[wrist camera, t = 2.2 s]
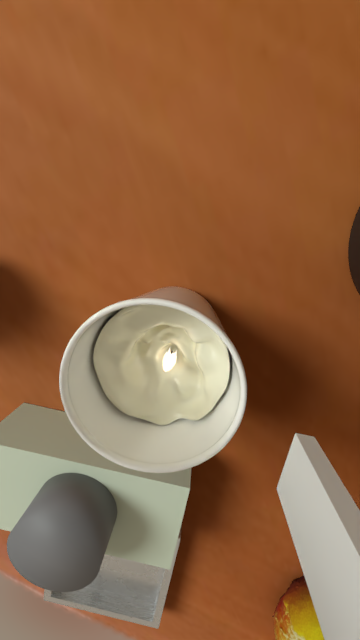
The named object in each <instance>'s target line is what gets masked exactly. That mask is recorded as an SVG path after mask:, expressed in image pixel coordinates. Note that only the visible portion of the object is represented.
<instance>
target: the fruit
mask: <svg viewBox="0 0 360 640" xmlns="http://www.w3.org/2000/svg"><path fill="white" fill-rule="evenodd" d="M272 617H274V632H275V639H276V640H324V637H323V633H322V630H321V627H320V624H319V621H318V618H317V614H316V611H315V608H314V605H313V602H312V599H311V596H310V592H309V589H308V586H307V583H306V580H305V577H304V576H302V577H301V578H298V579H296V580H294V581H292V584H291V585H290V587H289V588H288V590H287V592H286V594H284V595H283V596H282V597H281V598H280V601H279V603H278V605H277V607H276V610H275V612H274V615H273V616H272Z"/></svg>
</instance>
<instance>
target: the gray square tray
mask: <svg viewBox="0 0 360 640" xmlns="http://www.w3.org/2000/svg"><path fill="white" fill-rule="evenodd" d="M181 530H182V524H181V528H180V532H179V536H178V540H177V544H176V548H175V552H174V556H173V560H172V565H171V569H170V570H169V569H165V568H161V567H157V566H152V565H148V564H144V563H140V562H136V561H132V560H127V559H123V558H119V557H115V556H111V555H107V554H105V555H104V558H103V561H102V564H101V567H100V570H99V573H98V575H97V577H96V578H95V580H94V581H93V582H92V583H91V584H89V585H88V586H86V587H84V588H83V589H80V590H77V591H72V592H55V591H50V590H47V589H45V591H44V600H45V601H49V602H53V603H57V604H61V605H65V606H69V607H73V608H77V609H81V610H85V611H89V612H93V613H97V614H101V615H105V616H109V617H113V618H117V619H121V620H125V621H129V622H133V623H137V624H141V625H145V626H149V627H154V628H159V624H160V620H161V616H162V612H163V608H164V604H165V600H166V596H167V592H168V588H169V584H170V579H171V575H172V571H173V567H174V563H175V559H176V555H177V551H178V547H179V543H180V539H181Z"/></svg>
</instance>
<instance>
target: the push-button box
mask: <svg viewBox="0 0 360 640" xmlns="http://www.w3.org/2000/svg"><path fill="white" fill-rule="evenodd" d="M190 482H191V468H189V469H185V470H182V471H177V472H170V473H149V472H141V471H137V470H132V469H129V468H126V467H123V466H121V465H118V464H116V463H114V462H112V461H110V460H108V459H106V458H105V457H103V456H102V455H100V454H99V453H97V452H96V451H95V450H94V449H92V448H91V447H90V446H89V445H88V444H87V443H86V442H85V441H84V440H83V439H82V438H81V437H80V435H79V434H78V433H77V431H76V430H75V429H74V427H73V426H72V424H71V422H70V420H69V418H68V416H67V414H66V412H63V411H59V410H54V409H50V408H45V407H41V406H36V405H32V404H27V403H23V404H22V405H20V406H19V407H18V408H17V409H16V410H14V411H13V412H12V413H11V414H10V415H8V416H7V417H6V418H5V419H4V420H2V421H1V422H0V529H3V530H7V531H11V533H10V535H9V537H8V541H7V551H8V555H9V558H10V561H11V563H12V564H13V566H14V567H15V569H16V570H17V571H18V572H19V573H20V574H21V575H22V576H23V577H24V578H25V579H27V580H28V581H30V582H31V583H33V584H35V585H37V586H39V587H41V588H44V589H47V590H50V591H55V592H72V591H77V590H80V589H83V588H84V587H86V586H88V585H89V584H91V583H92V582H93V581H94V580H95V578H96V577H97V575H98V573H99V570H100V567H101V564H102V561H103V558H104V555H105V554H107V555H111V556H115V557H119V558H123V559H127V560H132V561H136V562H140V563H144V564H148V565H152V566H157V567H161V568H165V569H169V570H170V569H171V565H172V560H173V556H174V552H175V548H176V544H177V540H178V536H179V532H180V528H181V524H182V520H183V516H184V511H185V507H186V503H187V499H188V495H189V491H190Z"/></svg>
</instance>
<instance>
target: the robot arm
mask: <svg viewBox="0 0 360 640" xmlns="http://www.w3.org/2000/svg"><path fill="white" fill-rule="evenodd" d="M348 252H349V266H350V272H351V276H352V279H353V282H354V284H355V287H356V289H357V291H358V293H359V294H360V207H359V210H358V212H357V214H356V217H355V219H354V222H353V226H352V229H351V234H350V240H349V251H348ZM277 491H278V495H279V498H280V501H281V504H282V507H283V510H284V514H285V517H286V520H287V523H288V526H289V529H290V532H291V536H292V539H293V542H294V545H295V548H296V551H297V555H298V558H299V561H300V564H301V567H302V570H303V573H304V577H305V580H306V583H307V586H308V589H309V592H310V596H311V599H312V602H313V605H314V608H315V611H316V614H317V618H318V621H319V624H320V627H321V630H322V633H323V637H324V640H360V510H359V509H358V507H357V506H356V504H355V502H354V501H353V499H352V497H351V496H350V494H349V492H348V491H347V489H346V488H345V486H344V484H343V483H342V481H341V479H340V478H339V476H338V475H337V473H336V471H335V470H334V468H333V466H332V465H331V463H330V461H329V460H328V458H327V457H326V455H325V453H324V452H323V450H322V448H321V447H320V445H319V443H318V442H317V440H316V439H315V437H313V436H308V435H303V434H299V433H295V435H294V438H293V441H292V444H291V447H290V450H289V453H288V456H287V459H286V462H285V465H284V468H283V471H282V474H281V477H280V480H279V483H278V486H277Z"/></svg>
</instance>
